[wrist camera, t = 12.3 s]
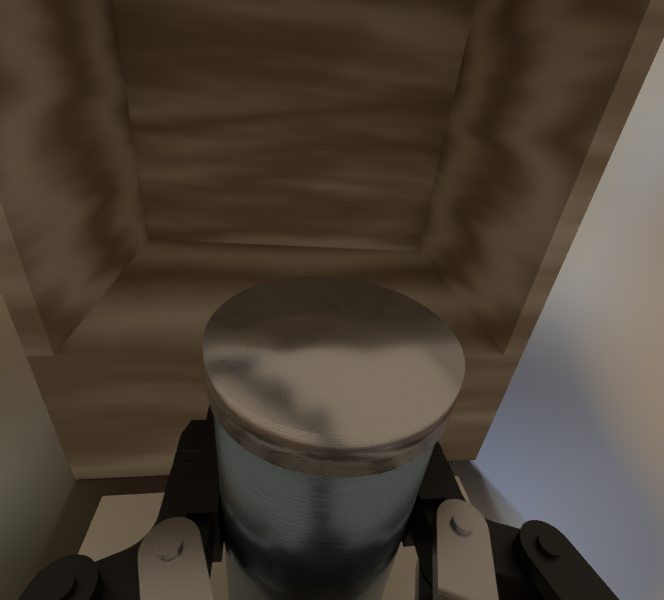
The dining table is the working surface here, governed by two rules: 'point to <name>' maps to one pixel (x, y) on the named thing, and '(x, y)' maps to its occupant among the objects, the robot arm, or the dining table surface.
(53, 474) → the dining table surface
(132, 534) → the tile
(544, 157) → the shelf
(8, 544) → the dining table surface
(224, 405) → the tin
